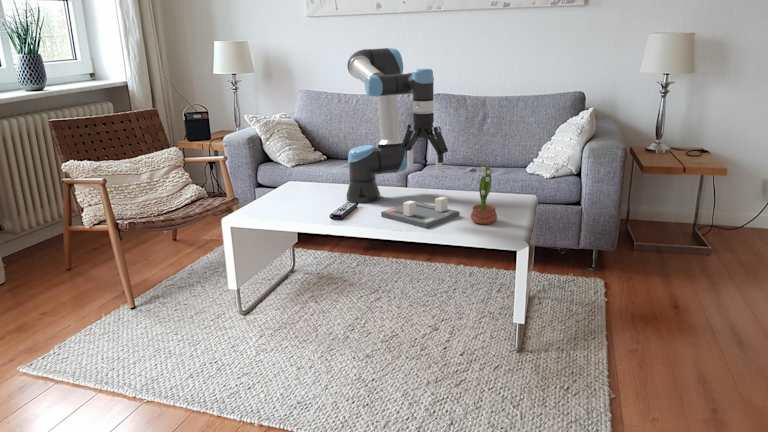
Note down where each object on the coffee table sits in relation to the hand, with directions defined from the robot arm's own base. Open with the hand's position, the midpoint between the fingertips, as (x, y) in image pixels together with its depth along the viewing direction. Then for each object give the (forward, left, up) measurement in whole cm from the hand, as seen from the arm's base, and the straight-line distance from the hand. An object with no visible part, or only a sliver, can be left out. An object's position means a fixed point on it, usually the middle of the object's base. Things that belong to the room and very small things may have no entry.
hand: (424, 169), depth 219 cm
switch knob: (0, +10, -19) cm, 21 cm away
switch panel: (-6, +4, -21) cm, 22 cm away
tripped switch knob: (-6, -2, -19) cm, 20 cm away
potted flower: (+18, +14, -21) cm, 31 cm away
